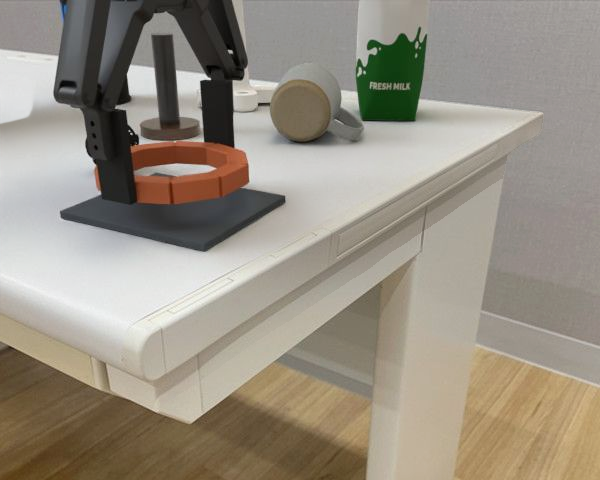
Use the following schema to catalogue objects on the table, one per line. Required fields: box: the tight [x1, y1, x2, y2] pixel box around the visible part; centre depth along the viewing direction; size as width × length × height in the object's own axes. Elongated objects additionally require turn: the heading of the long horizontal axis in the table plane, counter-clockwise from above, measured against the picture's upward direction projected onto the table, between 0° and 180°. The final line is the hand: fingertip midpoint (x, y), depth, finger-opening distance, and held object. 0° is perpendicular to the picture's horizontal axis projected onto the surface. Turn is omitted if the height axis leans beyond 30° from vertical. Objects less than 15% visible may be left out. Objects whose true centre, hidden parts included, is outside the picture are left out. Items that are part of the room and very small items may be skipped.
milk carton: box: [355, 0, 431, 122], centre depth 81 cm, size 9×9×20 cm
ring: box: [93, 140, 250, 205], centre depth 51 cm, size 12×12×2 cm
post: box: [139, 32, 201, 141], centre depth 73 cm, size 7×7×11 cm
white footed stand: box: [196, 0, 277, 113], centre depth 85 cm, size 11×8×20 cm
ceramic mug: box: [269, 62, 365, 143], centre depth 73 cm, size 11×8×8 cm
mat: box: [59, 172, 287, 252], centre depth 52 cm, size 14×12×1 cm
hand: (174, 177), depth 51 cm, fingers closed on ring, 12 cm apart
